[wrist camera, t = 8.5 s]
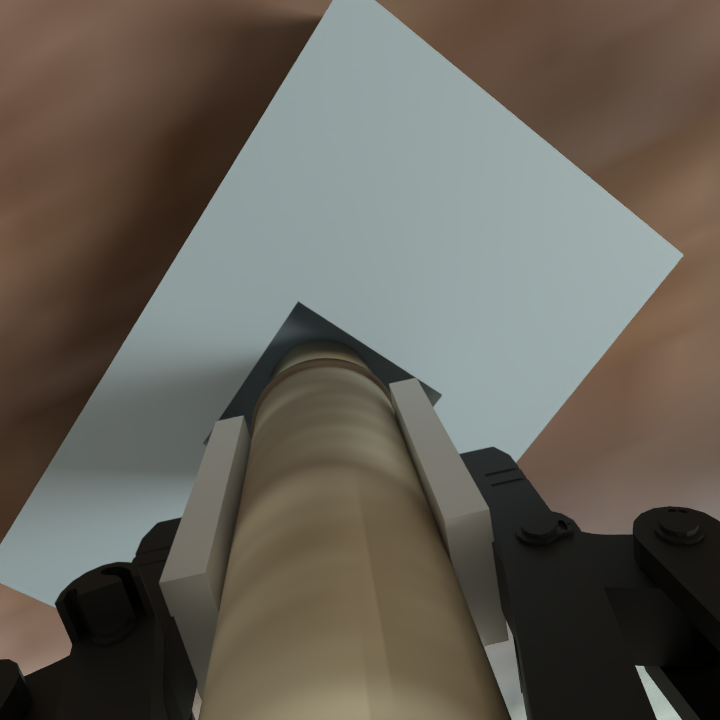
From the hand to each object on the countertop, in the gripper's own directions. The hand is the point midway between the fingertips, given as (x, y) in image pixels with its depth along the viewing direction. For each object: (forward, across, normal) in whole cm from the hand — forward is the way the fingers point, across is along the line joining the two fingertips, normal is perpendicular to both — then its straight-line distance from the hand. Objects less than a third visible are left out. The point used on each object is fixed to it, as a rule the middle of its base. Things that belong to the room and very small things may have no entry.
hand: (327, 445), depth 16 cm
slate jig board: (+6, 0, 0) cm, 6 cm away
